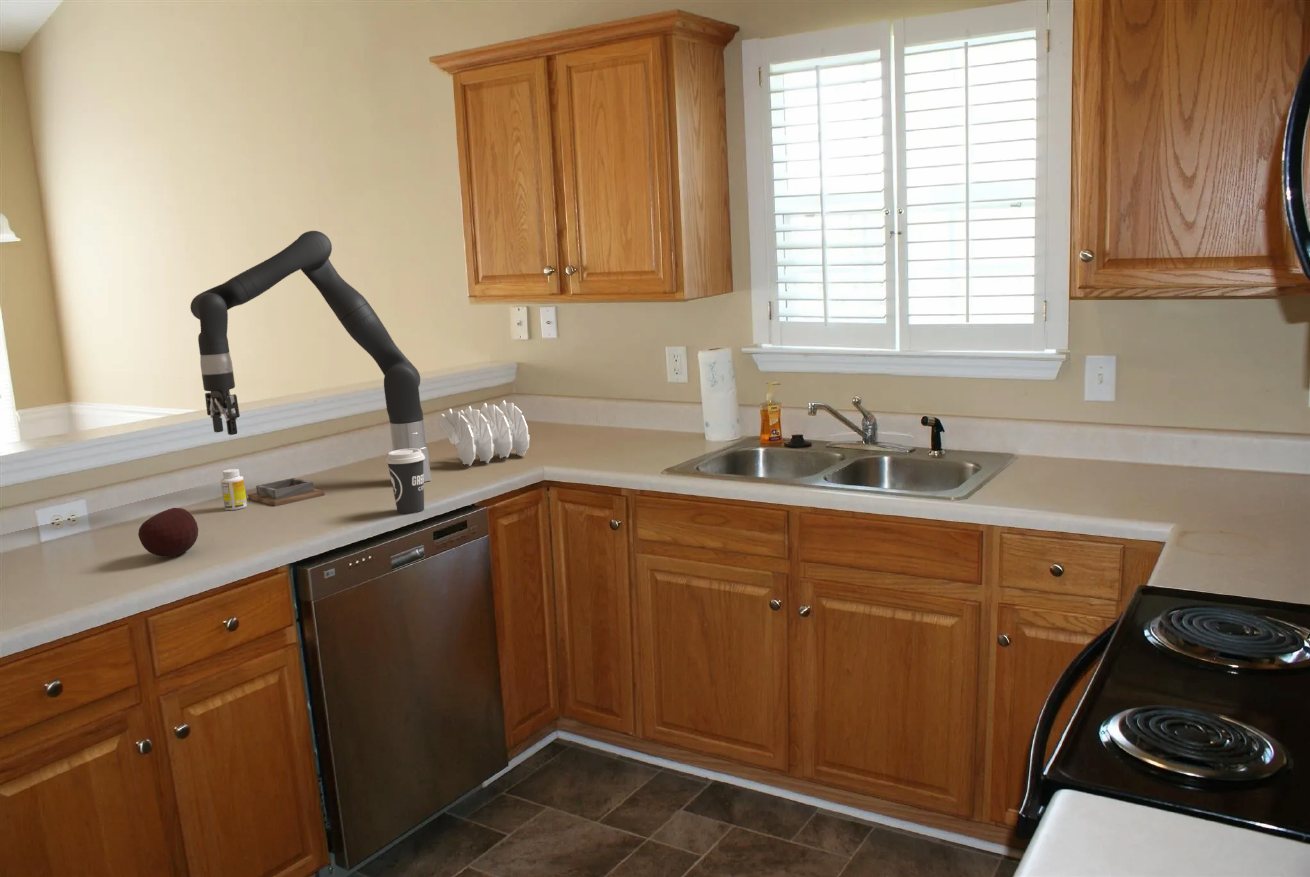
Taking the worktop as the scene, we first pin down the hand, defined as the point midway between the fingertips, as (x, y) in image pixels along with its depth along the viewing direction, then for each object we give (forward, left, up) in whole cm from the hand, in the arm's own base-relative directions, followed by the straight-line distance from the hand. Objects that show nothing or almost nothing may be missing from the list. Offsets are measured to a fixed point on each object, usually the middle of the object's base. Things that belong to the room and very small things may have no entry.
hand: (225, 433), depth 270 cm
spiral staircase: (-13, -74, -20) cm, 78 cm away
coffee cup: (-46, -24, -20) cm, 56 cm away
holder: (0, -14, -20) cm, 24 cm away
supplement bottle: (0, 0, -20) cm, 20 cm away
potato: (-33, +29, -20) cm, 48 cm away
